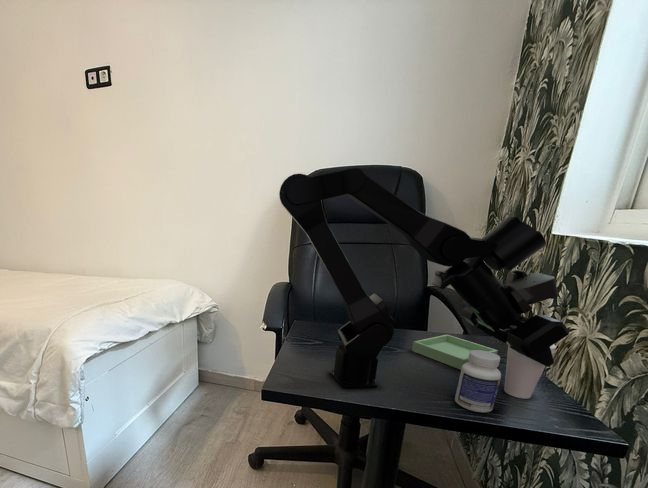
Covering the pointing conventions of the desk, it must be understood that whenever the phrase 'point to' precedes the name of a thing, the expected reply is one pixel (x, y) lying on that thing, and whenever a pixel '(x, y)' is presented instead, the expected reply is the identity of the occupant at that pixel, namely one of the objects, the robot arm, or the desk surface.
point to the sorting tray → (448, 349)
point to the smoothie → (522, 373)
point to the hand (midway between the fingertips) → (536, 356)
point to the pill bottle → (479, 382)
